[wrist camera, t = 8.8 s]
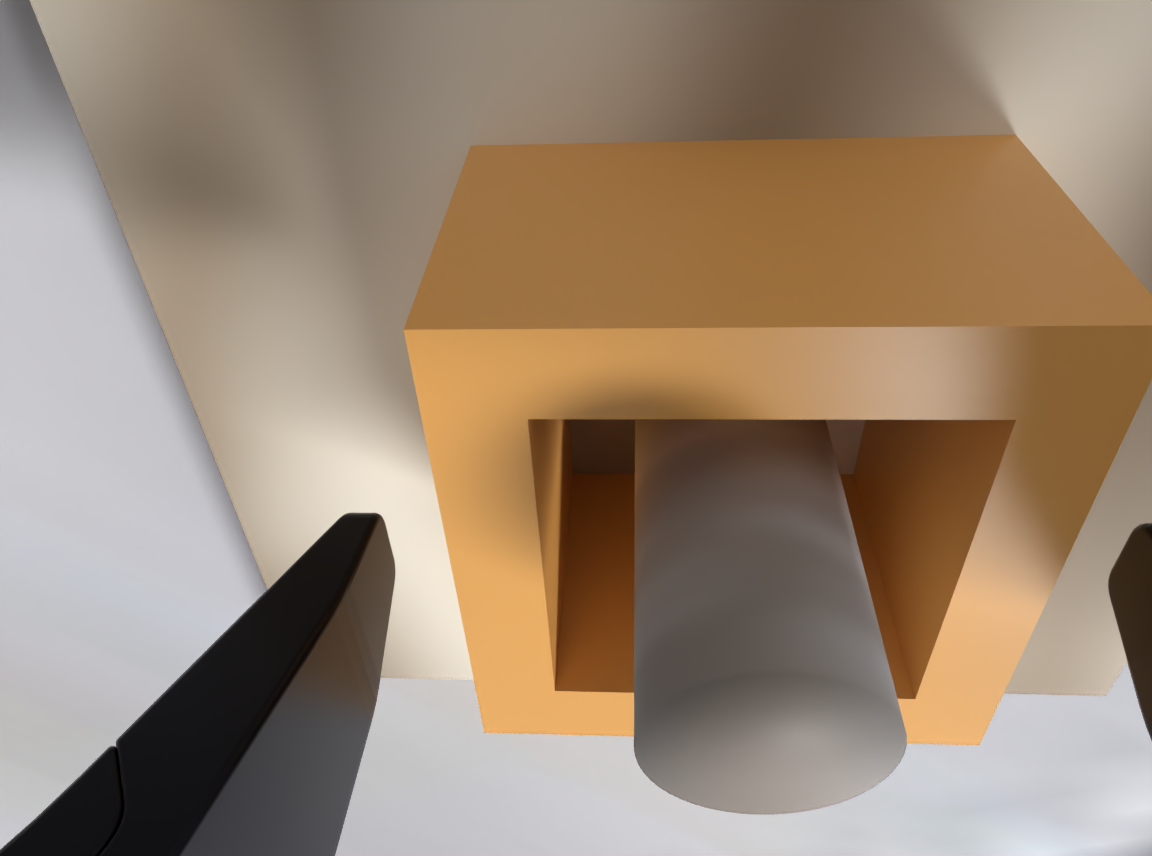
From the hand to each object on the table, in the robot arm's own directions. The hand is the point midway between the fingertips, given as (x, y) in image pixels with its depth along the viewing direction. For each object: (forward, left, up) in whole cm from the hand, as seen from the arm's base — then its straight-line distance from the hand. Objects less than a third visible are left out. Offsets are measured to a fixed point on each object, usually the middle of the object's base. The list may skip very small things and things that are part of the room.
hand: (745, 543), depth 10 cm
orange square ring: (0, 0, -4) cm, 4 cm away
